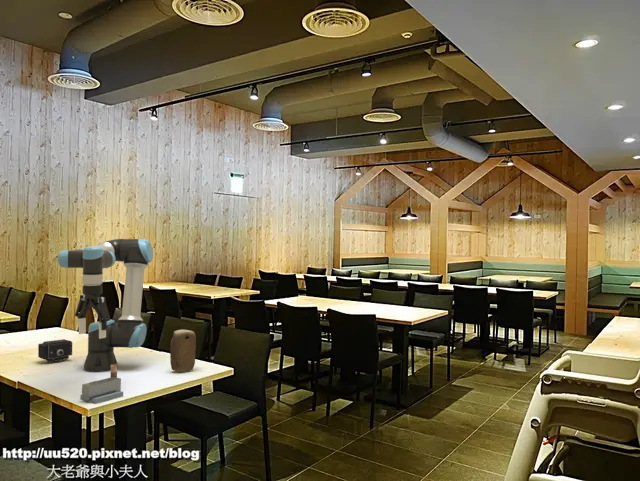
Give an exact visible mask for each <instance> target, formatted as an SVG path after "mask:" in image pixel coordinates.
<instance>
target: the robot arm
mask: <svg viewBox="0 0 640 481" xmlns="http://www.w3.org/2000/svg"><path fill="white" fill-rule="evenodd" d="M153 258H154V251H153V247H152V244H151V242H150V241H149V240H148V239H144V238H115V239H110V240H107V241H102V242H101V241H100V242H99V243H98V244H97V245H92V246H85V247H83V248H78V249H75V250H74V249H73V250H70V249H69V250H68V249H66V250H61V251H60V252H59V253H58V256H57V263H58V265H59V267H61V268H64V269H65V268H67V269H74V268H75V269H77V268H78V269H82V281H81V282H82V284H83V285H82V294H81V295H79V301H78V303H77V307H76V310H75V312H74V313H75V314H74V316H75V317H77V319H78V335H83V334H87V336H88V337H87V355H86V358H85V361H84V363H83V371H85V372H92V373H93V372H94V373H95V372H97V373H99V372H109V371H111V365H116V364H117V365H118V361H117V358H116V355H115V352H114V348H130V349H133V348H139V347H141V346H142V345H143V344H144V342H145V340H146V336H147V331H148V330H147V325H146V323H144V319H143V318H142V317H141V312H142V311H141V310H142V299H143V289H144V278H145V269H146V268H147V267H148V266H149V263H151V262H152V261H153ZM116 262H119V263H120V262H122V263H123V266H124V267H125V269H126V270H125V281H124V291H123V300H122V311H121V316H120V317H119V318H118V319H117V323H116V322H115V320H114V319H111V315H110V312H109V309H108V305H107V300H106V297H105V296H101V295H102V294H103V287H104V286H103V274H104V272H103V270H104V269H109V268H111V267H112V266H114V265H115V263H116ZM90 308H93V310H94V311H95V313H96V316H97V317H98V319H99V320H98V321H95V322H92V323H90V324H89V326H88V332H87V329H86V328H87V324H86V322H87V320H86V319H87V316H86V315H87V313H88V312H89V310H90ZM86 332H87V333H86Z"/></svg>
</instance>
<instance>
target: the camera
mask: <svg viewBox="0 0 640 481" xmlns="http://www.w3.org/2000/svg"><path fill="white" fill-rule="evenodd" d="M37 345H38V346H37V347H38V353H37V354H38V356H37V357H38V358H40V359H41V360H45V361H47V363H48V364H53V363H55V362H63V361H64V360H68V359H69V358H70V356H73V341H71V340H69V339H56V340H55V339H54V340H47V341H43V342H41V343H38V344H37Z"/></svg>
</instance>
